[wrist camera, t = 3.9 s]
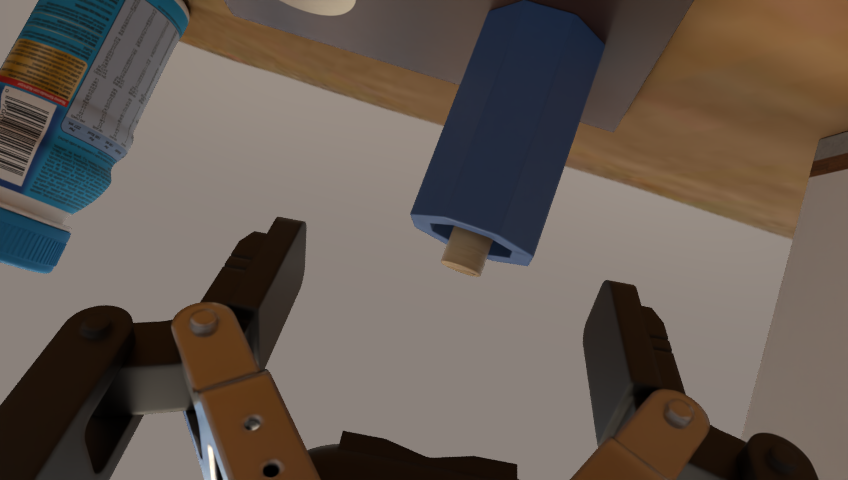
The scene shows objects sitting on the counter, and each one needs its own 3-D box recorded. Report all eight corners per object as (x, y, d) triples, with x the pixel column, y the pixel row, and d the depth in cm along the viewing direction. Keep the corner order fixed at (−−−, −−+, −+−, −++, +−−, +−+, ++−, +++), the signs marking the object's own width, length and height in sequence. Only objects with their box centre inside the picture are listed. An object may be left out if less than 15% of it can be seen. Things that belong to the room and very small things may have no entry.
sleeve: (485, 54, 31) (417, 234, 29) (489, -11, 25) (405, 204, 24) (588, 85, 30) (524, 272, 28) (614, 24, 25) (538, 249, 23)
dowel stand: (241, -1, 37) (155, 181, 35) (111, -216, 24) (-43, 59, 21) (619, 114, 34) (551, 322, 32) (721, -60, 20) (613, 285, 18)
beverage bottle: (215, 12, 40) (82, 289, 37) (166, 27, 46) (47, 267, 43) (89, -80, 35) (-84, 238, 31) (51, -49, 41) (-98, 221, 37)
